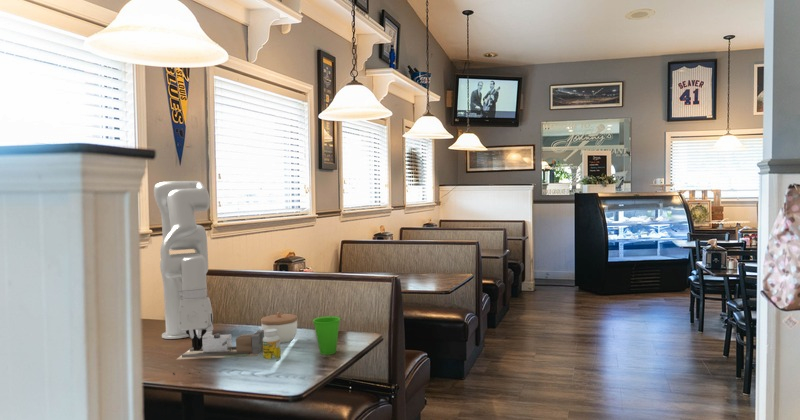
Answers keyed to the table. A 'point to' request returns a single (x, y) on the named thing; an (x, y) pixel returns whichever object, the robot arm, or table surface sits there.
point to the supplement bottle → (271, 344)
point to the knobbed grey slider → (217, 343)
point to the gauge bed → (256, 349)
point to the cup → (327, 334)
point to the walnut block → (244, 343)
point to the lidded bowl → (281, 325)
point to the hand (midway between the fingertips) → (197, 349)
